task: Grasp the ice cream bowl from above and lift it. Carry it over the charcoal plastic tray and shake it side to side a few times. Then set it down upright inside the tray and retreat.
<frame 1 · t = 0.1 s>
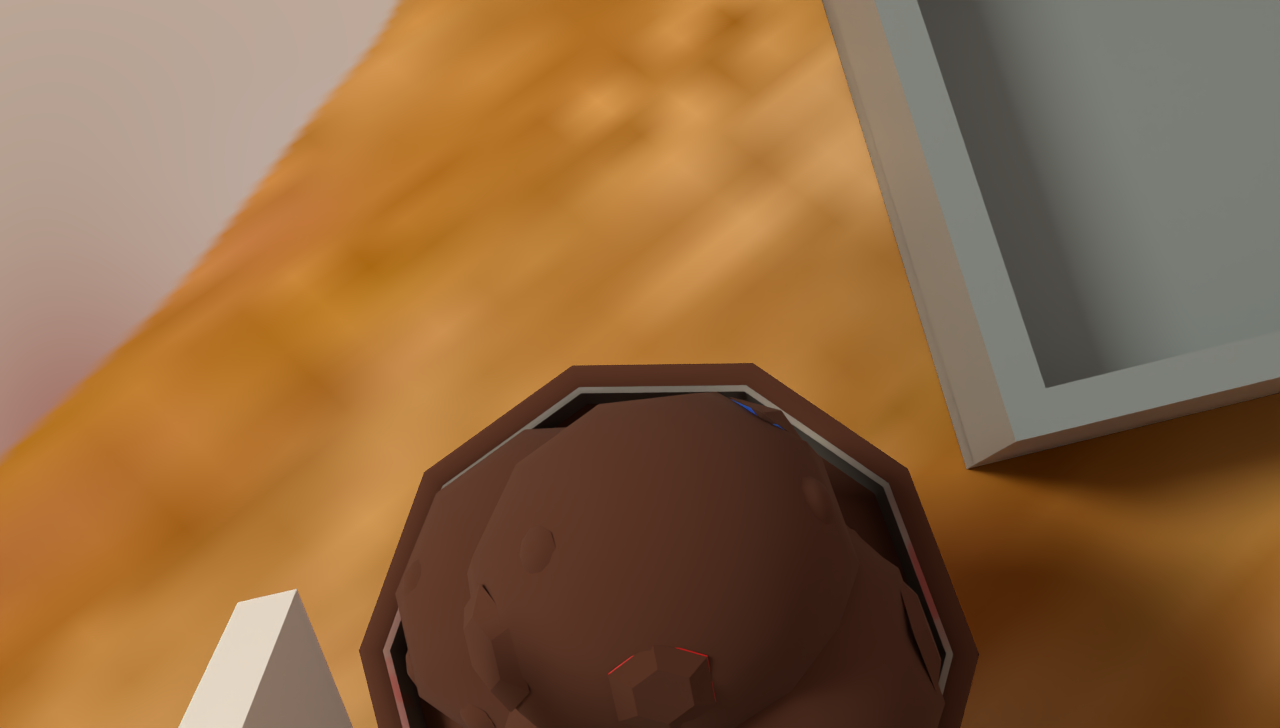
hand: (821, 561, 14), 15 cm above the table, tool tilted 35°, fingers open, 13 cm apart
ice cream bowl: (681, 636, 29), on the table
charcoal tray: (1168, 109, 31), on the table
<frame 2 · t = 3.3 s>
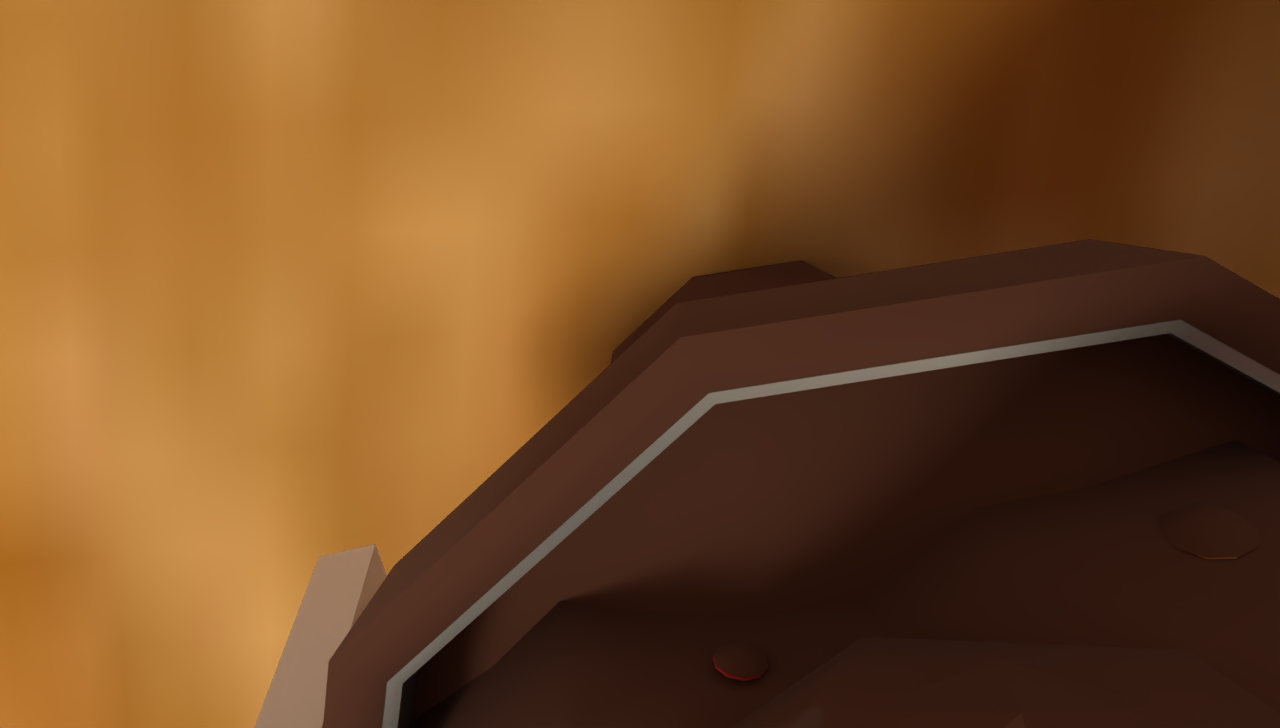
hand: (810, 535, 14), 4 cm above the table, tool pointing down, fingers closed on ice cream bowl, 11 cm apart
ice cream bowl: (761, 417, 18), on the table, touching gripper
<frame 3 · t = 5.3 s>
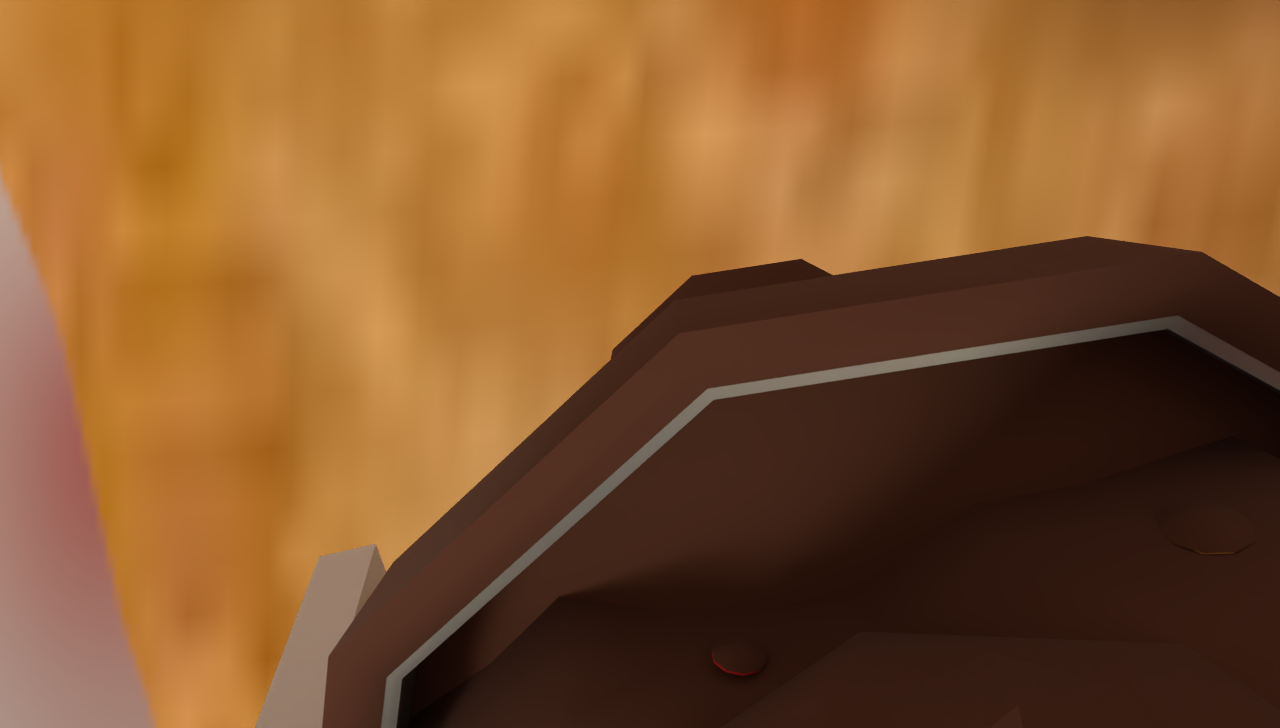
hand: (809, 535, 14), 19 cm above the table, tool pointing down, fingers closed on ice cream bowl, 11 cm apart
ice cream bowl: (760, 415, 18), point 15 cm above the table, touching gripper
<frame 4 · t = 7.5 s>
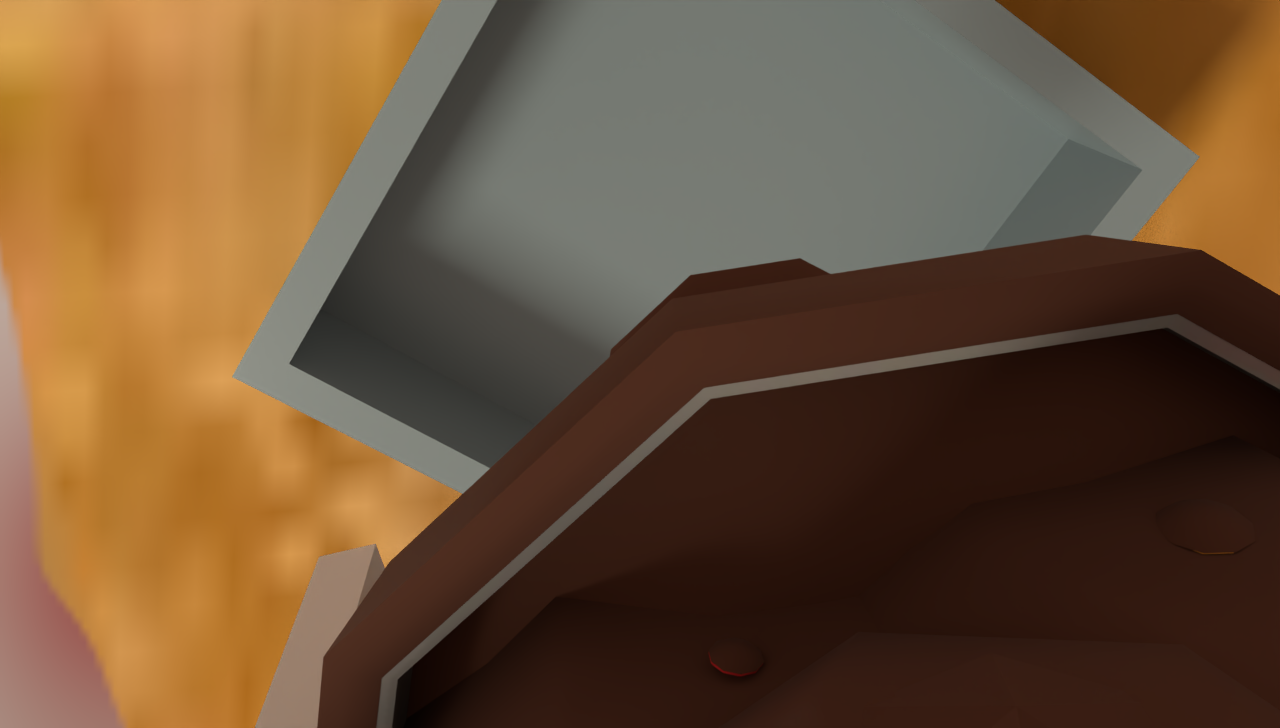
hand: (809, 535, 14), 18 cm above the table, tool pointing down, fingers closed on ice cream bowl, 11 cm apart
ice cream bowl: (759, 415, 18), point 14 cm above the table, touching gripper
charcoal tray: (689, 215, 31), on the table
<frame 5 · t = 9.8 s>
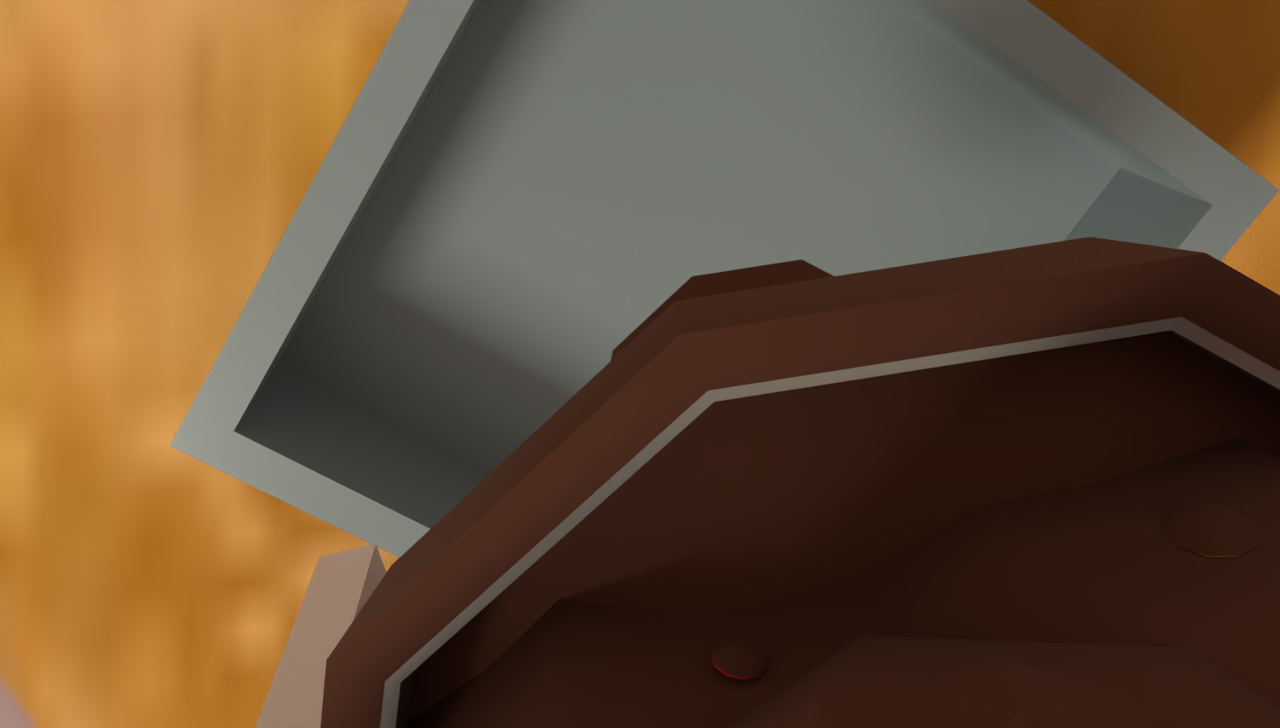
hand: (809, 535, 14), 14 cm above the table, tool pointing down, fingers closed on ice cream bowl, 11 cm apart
ice cream bowl: (760, 416, 18), point 10 cm above the table, touching gripper
charcoal tray: (692, 254, 27), on the table
when the fingers open (5 cm above the table, at t = 11.8 s): ice cream bowl stays where it is, resting on charcoal tray.
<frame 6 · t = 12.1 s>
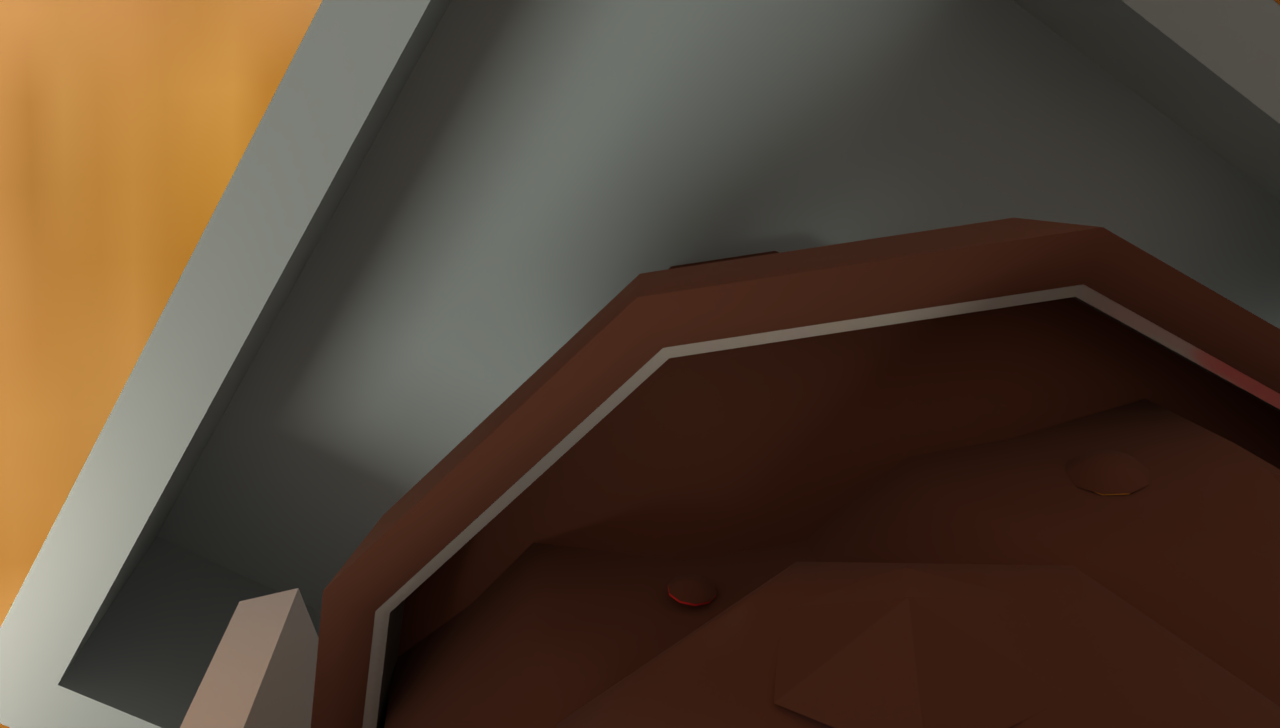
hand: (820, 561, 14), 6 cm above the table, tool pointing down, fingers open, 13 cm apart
ice cream bowl: (737, 400, 19), point 1 cm above the table, touching charcoal tray
charcoal tray: (742, 376, 19), on the table
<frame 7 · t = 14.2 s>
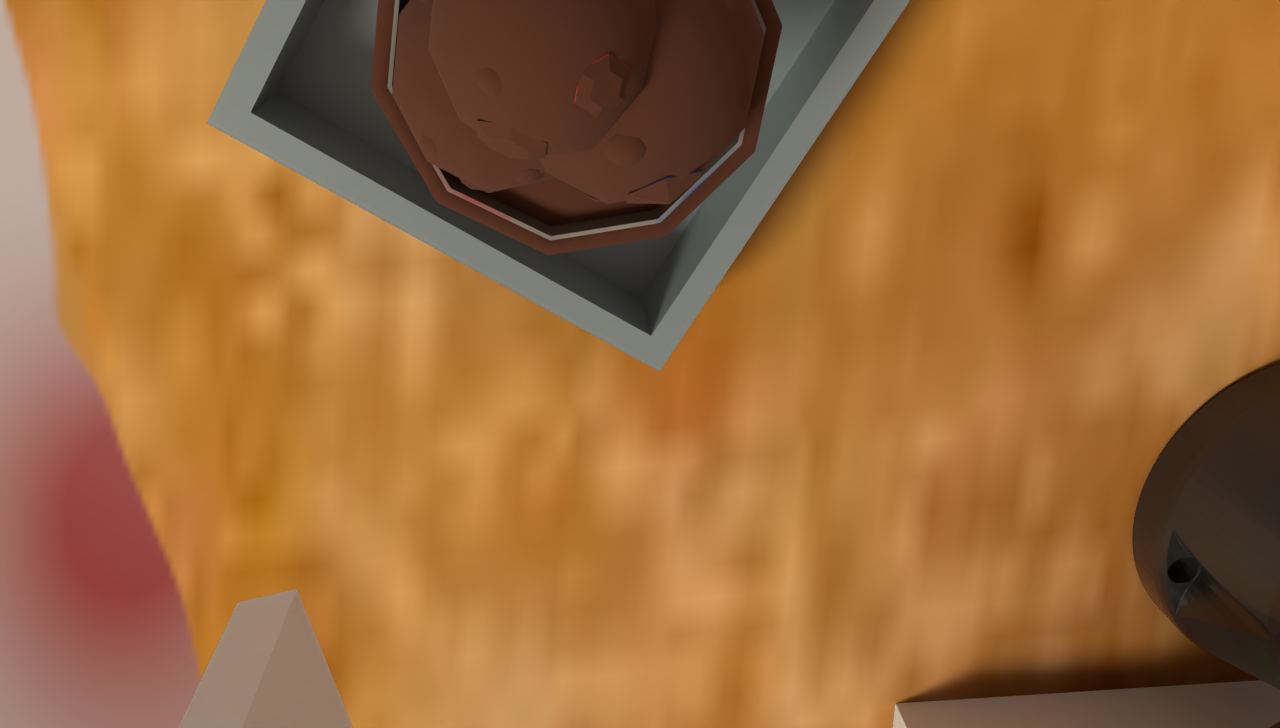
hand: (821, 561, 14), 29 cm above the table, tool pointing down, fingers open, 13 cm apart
ice cream bowl: (567, 22, 38), point 1 cm above the table, touching charcoal tray
charcoal tray: (572, 16, 38), on the table
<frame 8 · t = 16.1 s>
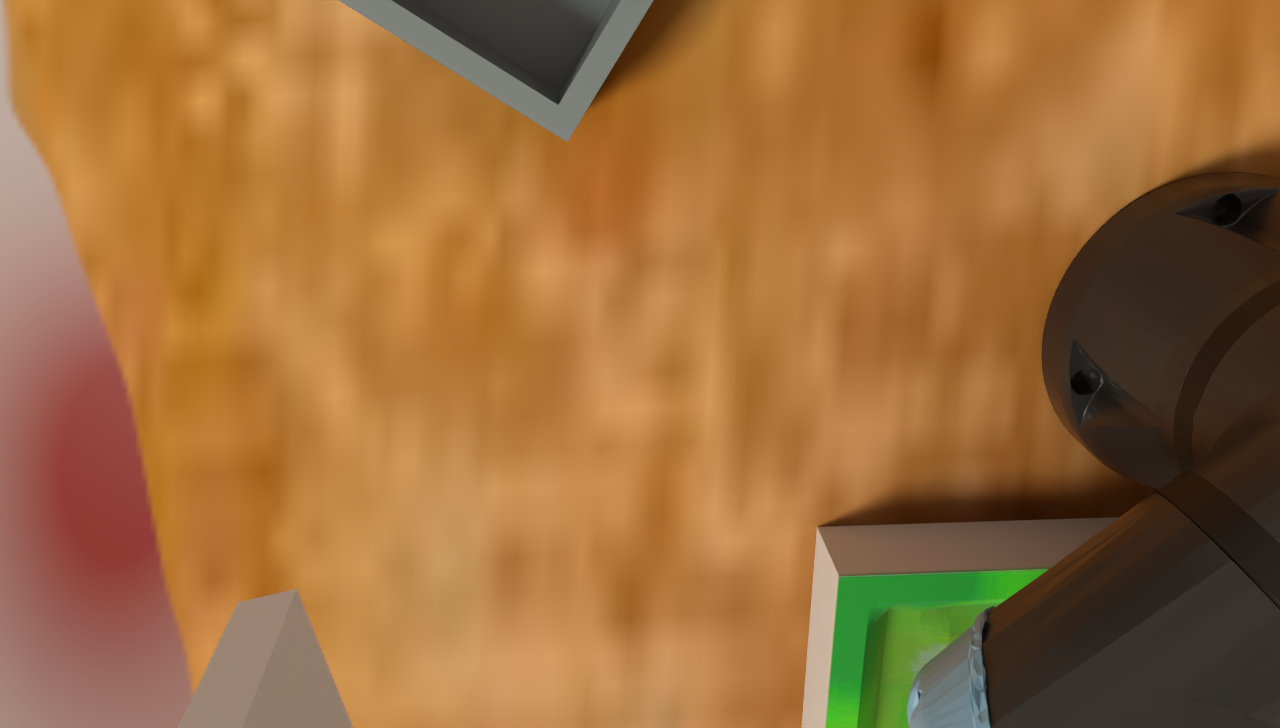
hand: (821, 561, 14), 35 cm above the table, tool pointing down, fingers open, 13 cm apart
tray: (1019, 708, 60), on the table
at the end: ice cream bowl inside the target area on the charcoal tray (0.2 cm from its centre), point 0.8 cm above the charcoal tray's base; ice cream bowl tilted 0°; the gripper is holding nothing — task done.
